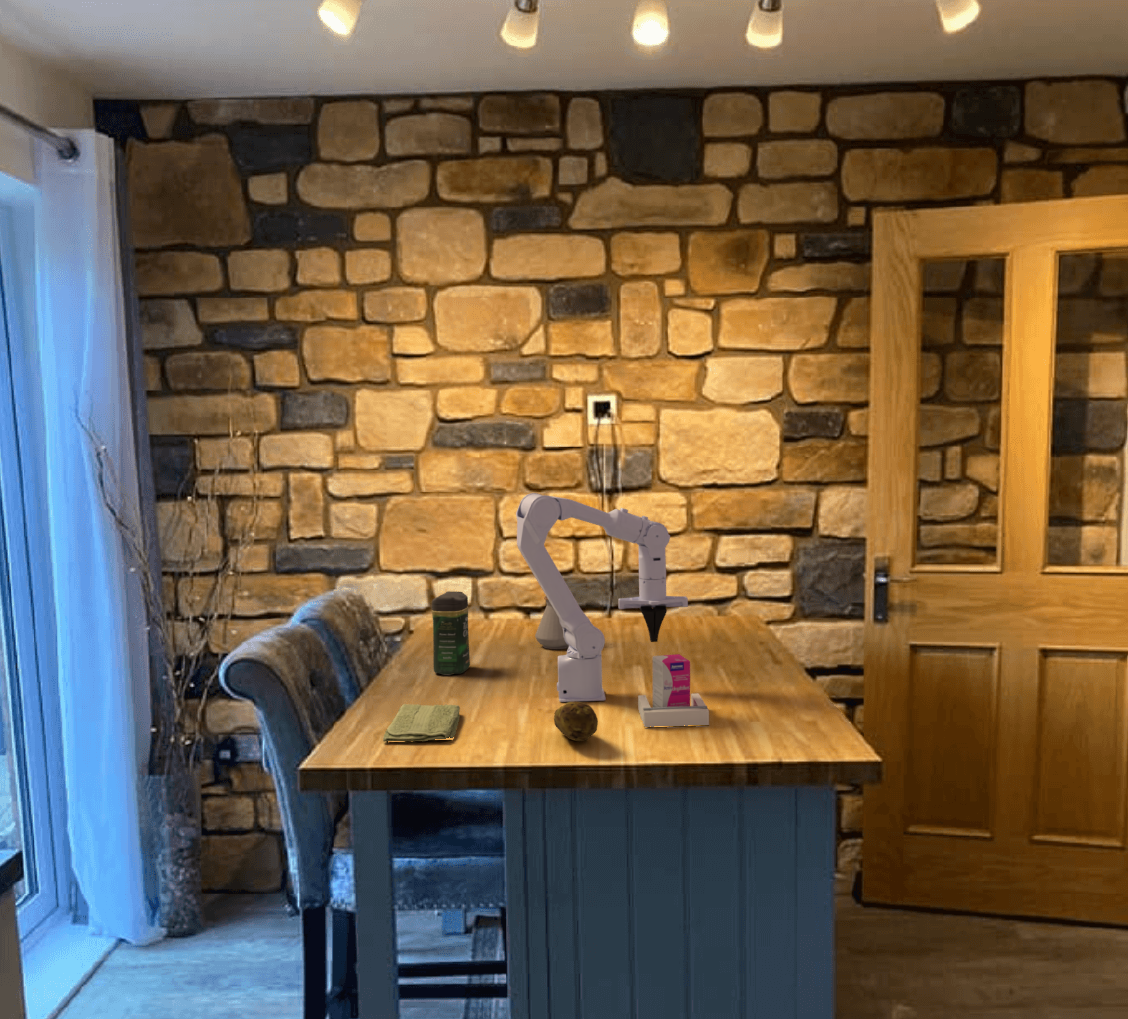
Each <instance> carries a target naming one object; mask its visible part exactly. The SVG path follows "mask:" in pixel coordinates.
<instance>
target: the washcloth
mask: <svg viewBox="0 0 1128 1019" xmlns="http://www.w3.org/2000/svg"><path fill="white" fill-rule="evenodd" d="M460 709H461V708H460V705H458V704H457V705H456V704H444V705H443V704H434V705H428V704H425V705H422V704H406V703H404V704H402V705H401V706H400V707H399V709H398V712H397V713H396V715H395V716H394V718H393V719H392V721H391V723H390V724H389V725H388V726H387V729H386V730H385V733H384V734H383V736H382V737H383V738H382V740H383V743H384V742H385V741H422V742H429V741H428V740H435V739H446V738H449V737H450V738H453V737H454V736H456V733H457V730H456V729H458V727H457V726H459V723H458V722H460V717H461V716H460V712H461V710H460ZM454 738H455V737H454ZM385 743H386V742H385Z"/></svg>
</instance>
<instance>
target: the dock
mask: <svg viewBox="0 0 1128 1019" xmlns="http://www.w3.org/2000/svg"><path fill="white" fill-rule="evenodd" d="M637 697H638V698H637V701H638V702H637V706H638V707H637V708H638V710H639V711H638V713H640V714H639V716H640V719H641V722H642V721H643V722H642V725H643V724H644V725H643V727H644V726H645V727H650V726H651V727H654V726H684V725H685V726H688V725H709V726H710V711H709V708H708V705H706V703H705V702H704V700H703V698H702V697H701V695H700V693H697V692H696V693H690V706H682V707H653V706H652V707H651V705H650V702H649V699H648V698H647V695H646V694H642V695H641V694H640V695H639V694H638V695H637Z"/></svg>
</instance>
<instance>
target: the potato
mask: <svg viewBox="0 0 1128 1019" xmlns="http://www.w3.org/2000/svg"><path fill="white" fill-rule="evenodd" d="M553 715H554V716H553V720H554V721H553V722H554V726H555V727H556V728H557V729H558V730H559V732H560V733H561V734H562V735H563V736H565V737H566V738H568V739H570V740H573V741H576V742H583V741H584V740H585V741H587V740H589V739H590V738H591V737H592V736H593V735H594V734H595V733H596V732H597V731H598V725H599V720H598V716H597V714H596V712H595V711H594V709H593V708H592V707H591V705H589V704H588V703H587V702H583V701H573V702H565V704H564V705H562V706H560V707H559V708H557V709H555V711H554V714H553Z"/></svg>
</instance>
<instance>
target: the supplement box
mask: <svg viewBox="0 0 1128 1019" xmlns="http://www.w3.org/2000/svg"><path fill="white" fill-rule="evenodd" d="M682 706H691V661H690V660H689V659H687V658H686V657H684V656H682V654H680V653H678V654H666V655H665V654H664V655H653V656H652V707H682Z"/></svg>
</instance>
